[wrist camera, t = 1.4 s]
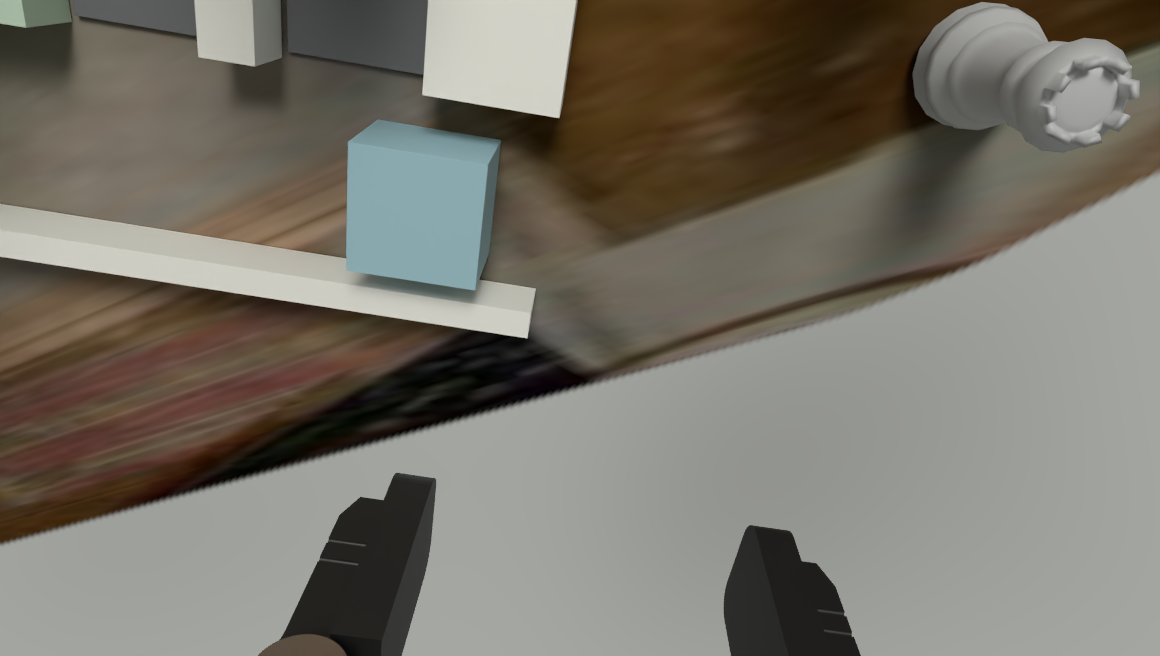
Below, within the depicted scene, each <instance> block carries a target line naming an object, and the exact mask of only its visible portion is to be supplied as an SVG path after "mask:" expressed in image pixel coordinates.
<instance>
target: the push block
mask: <svg viewBox="0 0 1160 656" xmlns="http://www.w3.org/2000/svg"><path fill="white" fill-rule="evenodd" d="M500 147H501V140H498V139H492V138H486V137H480V136H474V135H468V134H462V133H456V132H450V131H444V130H438V129H432V128H426V127H420V126H414V125H408V124H402V123H396V122H390V121H384V120H376V121H375V122H374V123H372V124H371V125H370V126H368V127H367V128H366V129H364V130H363V131H362V132H360V133H359V134H358V135H356V136H355V137H354V138H352V139H351V140H350V141H348V177H347V247H346V271H353V272H359V273H366V274H372V275H378V276H385V277H391V278H398V279H404V280H411V281H417V282H424V283H430V284H436V285H443V286H449V287H456V288H462V289H469V290H476V287H477V284H478V282H479V279H480V276H481V274H482V271H483V268H484V266H485V263H486V260H487V258H488V255H489V248H490V238H491V229H492V220H493V211H494V202H495V193H496V184H497V175H498V165H499V156H500Z"/></svg>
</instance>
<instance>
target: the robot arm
mask: <svg viewBox="0 0 1160 656" xmlns="http://www.w3.org/2000/svg"><path fill="white" fill-rule="evenodd" d="M435 491H436V479H435V478H429V477H421V476H415V475H408V474H401V473H395V475H394V476H393V479H392V481H391V484H390V486H389V488H388V491H387V494H386V496H385V498H384V500H377V499H370V498H363V497H360V498H359V499H358V500H357V501H355V502H354V503H353V504H352V505H351V506H350V507H348V508H347V509H346V510H345V511H344V512H343V513H342V514H340V515H339V518H338V520H337V522H336V524H335V526H334V528H333V530H332V532H331V535H330V537H329V541H328V543H326V545H325V547H324V550H323V552H322V554H321V556H320V560H319V562H317V565H316V567H315V569H314V571H313V573H312V575H311V577H310V579H309V582H308V584H307V586H306V588H305V590H304V592H303V594H302V596H301V598H300V601H299V603H298V605H297V607H296V609H295V611H294V613H293V616H292V618H291V620H290V622H289V624H288V626H287V628H286V631H285V632H284V634H283V636H282V637H281V639H280V640H279V641H277V642H275V643H273V644H272V645H270V646H268V647H267V648H266V649H265V650H263V651H262V652H261V653H260V654H259V655H258V656H402V652H403V649H404V645H405V642H406V638H407V635H408V631H409V628H410V624H411V621H412V617H413V614H414V610H415V607H416V603H417V600H418V596H419V593H420V589H421V586H422V582H423V579H424V575H425V571H426V567H427V562H428V557H429V552H430V544H431V534H432V524H433V513H434V502H435ZM724 618H725V624H726V630H727V636H728V641H729V647H730V652H731V656H861V655H860V653H859V650H858V647H857V644H856V642H855V639H854V637H852V635H851V634H852V631H851V628H850V625H849V623H848V620H847V617H845V616H844V609H843V607H842V604H841V601H840V598H839V595H838V593H837V590H836V587H835V586H834V585H833V583H832V582H831V581H830V580H829V578H828V577H827V576H826V575H825V573H824V572H823V571H822V570H821V569H820V567H819V566H818V565H817V564H816V563H810V562H802V561H801V558H800V555H799V552H798V549H797V546H796V543H795V540H794V537H793V535H792V533H791V532H790V531H787V530H780V529H773V528H765V527H759V526H752V525H750V526H748V527H747V529H746V530H745V533H744V535H743V538H742V541H741V544H740V547H739V550H738V553H737V556H736V558H735V562H734V564H733V567H732V570H731V573H730V576H729V579H728V582H727V585H726V589H725V596H724Z"/></svg>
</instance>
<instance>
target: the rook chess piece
mask: <svg viewBox="0 0 1160 656" xmlns="http://www.w3.org/2000/svg"><path fill="white" fill-rule="evenodd" d="M1131 68H1132V66H1131V65H1129V63H1128V61H1127V59H1126V56H1125V54H1124V52H1123V51H1122V50H1120V49H1119V48H1117V47H1116V46H1114V45H1113V44H1111V43H1110V42H1108V41H1107V40H1099V39H1088V38H1082V39H1079V40H1076V41H1072V42H1060V41H1052V42H1048V40H1047V39H1046V37H1045V35H1044V33H1043V31H1042V29H1041V27H1040V25H1039V24H1038V22H1037V21H1036V20H1034V19H1033V18H1031V17H1030V16H1028V15H1027V14H1025V13H1024V12H1022V11H1020V10H1019V9H1017V8H1011V7H1009V6H1007V5H1006V4H996V3H985V2H981V3H978V4H974V5H971V6H968V7H965V8H962V9H959V10H956V11H955V12H954V13H952V14H951V15H950V16H948V17H947V18H946V19H944V20H943V21H942V22H940V23H939V24H938V25H936V26H935V27H934V29H933V30H932V31H931V33H930V34H929V36H928V37H927V39H926V40H925V42H924V43H923V44H922V46H921V47H920V49H919V52H918V56H917V59H916V63H915V66H914V70H913V83H914V92H915V97H916V99H917V100H918V102H919V104H920V105H921V107H922V109H923V110H924V112H925V113H926V115H928V116H930V117H931V118H933V119H935V120H936V121H938V122H940V123H941V124H943V125H948V126H952V127H954V128H958V129H969V130H982V129H986V128H989V127H993V126H996V125H999V124H1003V123H1005V122H1007V124H1008V125H1009V126H1011V127H1013V128H1014V129H1016V130H1017V131H1019V132H1021V133H1022V135H1023V137H1024V138H1025V140H1026V141H1027V142H1029V143H1030V144H1032V145H1034V146H1035V147H1037V148H1039V149H1040V150H1042V151H1051V152H1062V153H1063V152H1067V151H1070V150H1074V149H1078V148H1081V147H1088V146H1091V145H1095V144H1098V143H1102V141H1101V137H1100V136H1102V135H1103V134H1105V133H1106V132H1107V131H1108V130H1109V129H1113V130H1116V131H1118V132H1119V131H1120V129H1121V128H1122V127H1123V126H1124V125H1125V124H1126V122H1127V121H1128V120H1129V119H1130V118H1131V116H1130V115H1127V114H1124V113H1123V111H1124V108H1125V106H1126V103H1127V101H1128V99H1138V98H1139V84H1140V81H1138V80H1134V79H1132V69H1131Z"/></svg>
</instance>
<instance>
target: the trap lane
mask: <svg viewBox="0 0 1160 656" xmlns="http://www.w3.org/2000/svg"><path fill="white" fill-rule="evenodd" d="M73 3H74V10H75V15H76V16H82V17H88V18H94V19H100V20H106V21H111V22H117V23H123V24H129V25H135V26H141V27H146V28H152V29H158V30H164V31H170V32H176V33H182V34H187V35H193V36H197V45H198V57H201V58H207V59H213V60H219V61H225V62H231V63H236V64H242V65H248V66H254V67H255V66H259V65H262V64H265V63H268V62H271V61H274V60H277V59H280V58H282V29H281V0H73ZM577 3H578V0H287V36H288V52H293V53H299V54H304V55H310V56H316V57H322V58H328V59H334V60H339V61H345V62H351V63H357V64H363V65H369V66H375V67H380V68H386V69H392V70H398V71H404V72H410V73H416V74H421V75H424V77H423V93H422V95H425V96H431V97H437V98H443V99H449V100H455V101H460V102H466V103H472V104H478V105H484V106H490V107H496V108H502V109H508V110H513V111H519V112H525V113H531V114H537V115H543V116H549V117H555V118H559V117H560V113H561V110H562V106H563V99H564V92H565V86H566V79H567V72H568V65H569V58H570V51H571V45H572V38H573V31H574V24H575V17H576V10H577ZM67 22H72V20H71V13H70V6H69V0H0V23H1V24H7V25H12V26H18V27H24V28H29V27H36V26H44V25H52V24H60V23H67ZM0 257H6V258H12V259H19V260H25V261H31V262H38V263H44V264H51V265H57V266H64V267H70V268H77V269H83V270H89V271H96V272H102V273H109V274H115V275H122V276H128V277H135V278H141V279H148V280H154V281H160V282H167V283H173V284H180V285H186V286H193V287H199V288H206V289H212V290H218V291H225V292H231V293H238V294H244V295H251V296H257V297H264V298H270V299H276V300H283V301H289V302H296V303H302V304H309V305H315V306H322V307H328V308H335V309H341V310H347V311H354V312H360V313H367V314H373V315H380V316H386V317H393V318H399V319H405V320H412V321H418V322H425V323H431V324H438V325H444V326H451V327H457V328H463V329H470V330H476V331H483V332H489V333H496V334H502V335H509V336H515V337H521V338H527V337H528V332H529V327H530V322H531V317H532V312H533V305H534V298H535V291H536V289H535V288H529V287H523V286H516V285H510V284H504V283H497V282H491V281H485V280H479V282H478V284H477V287H476V290H469V289H462V288H456V287H449V286H443V285H436V284H430V283H424V282H417V281H411V280H404V279H398V278H391V277H385V276H378V275H372V274H366V273H359V272H353V271H346V258H340V257H333V256H327V255H321V254H314V253H308V252H302V251H295V250H289V249H283V248H276V247H270V246H264V245H258V244H251V243H245V242H239V241H232V240H226V239H220V238H213V237H207V236H201V235H194V234H188V233H182V232H175V231H169V230H163V229H157V228H150V227H144V226H138V225H131V224H125V223H119V222H112V221H106V220H100V219H93V218H87V217H81V216H74V215H68V214H62V213H56V212H49V211H43V210H37V209H30V208H24V207H18V206H11V205H5V204H0Z"/></svg>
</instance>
